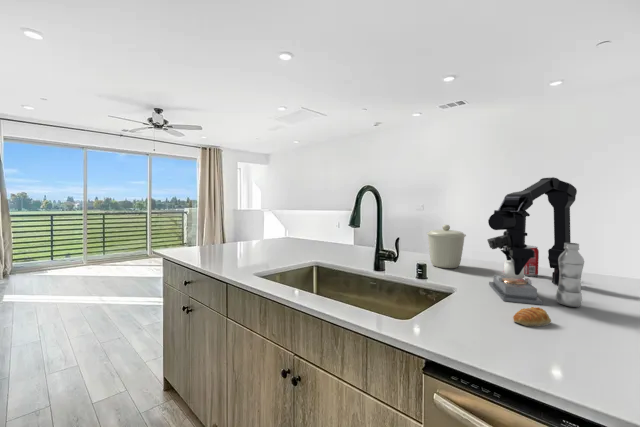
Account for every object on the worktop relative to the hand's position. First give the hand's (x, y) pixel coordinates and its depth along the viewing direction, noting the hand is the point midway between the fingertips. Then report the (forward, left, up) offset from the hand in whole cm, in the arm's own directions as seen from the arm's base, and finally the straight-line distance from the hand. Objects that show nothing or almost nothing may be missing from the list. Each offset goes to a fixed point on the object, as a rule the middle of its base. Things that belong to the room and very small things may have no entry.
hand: (513, 272), depth 106 cm
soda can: (-15, -33, -8) cm, 37 cm away
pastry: (+3, +27, -8) cm, 28 cm away
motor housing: (0, 0, -8) cm, 8 cm away
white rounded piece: (0, 0, -1) cm, 1 cm away
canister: (+19, -39, -8) cm, 44 cm away
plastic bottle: (-13, +8, -8) cm, 17 cm away
